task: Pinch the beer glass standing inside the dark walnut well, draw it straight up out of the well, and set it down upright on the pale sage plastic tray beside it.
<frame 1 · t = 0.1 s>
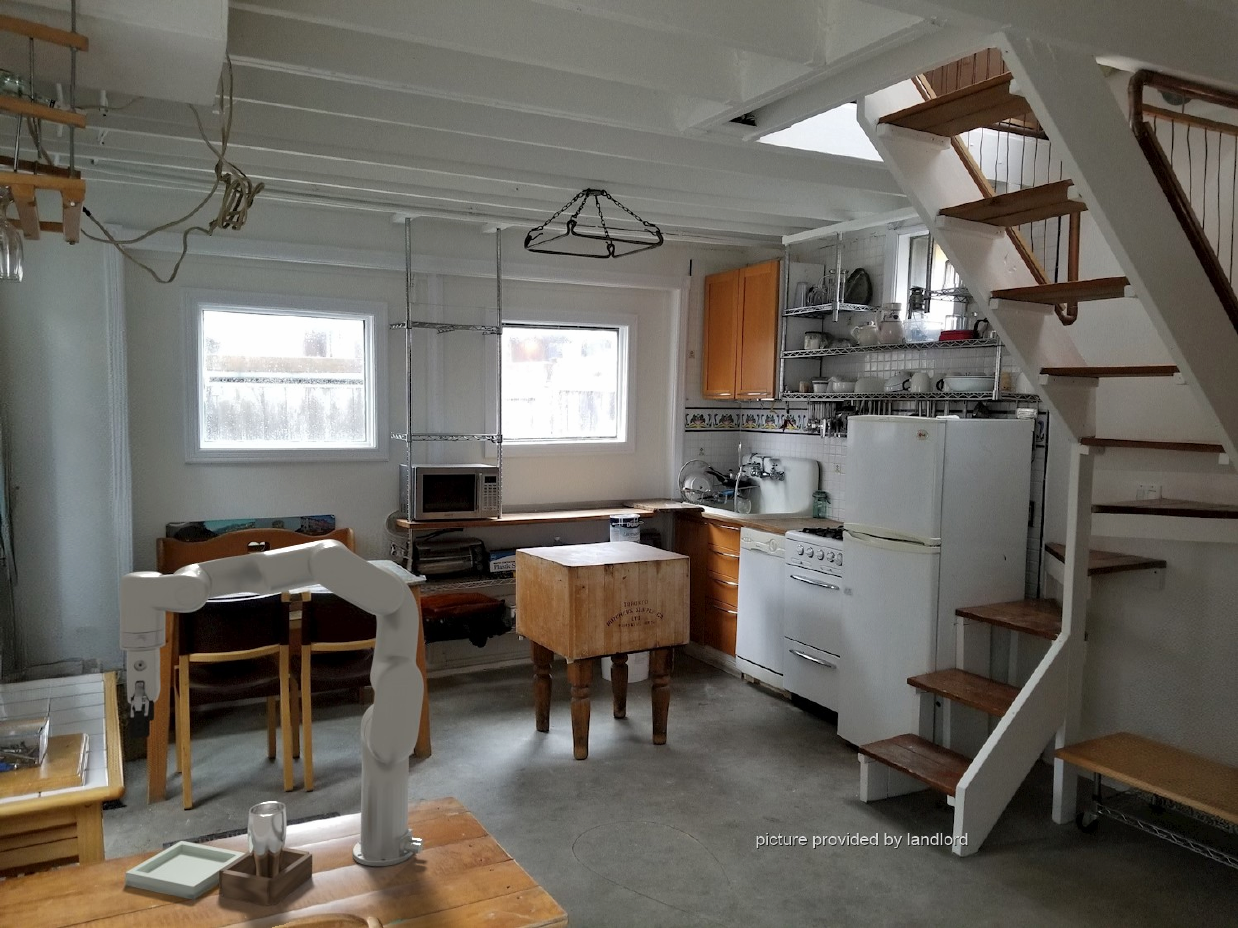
hand: (142, 728, 166), 31 cm above the table, tool pointing down, fingers open, 9 cm apart
beer glass: (266, 885, 171), resting in walnut well
sage tray: (187, 874, 174), on the table
walnut well: (266, 884, 171), on the table
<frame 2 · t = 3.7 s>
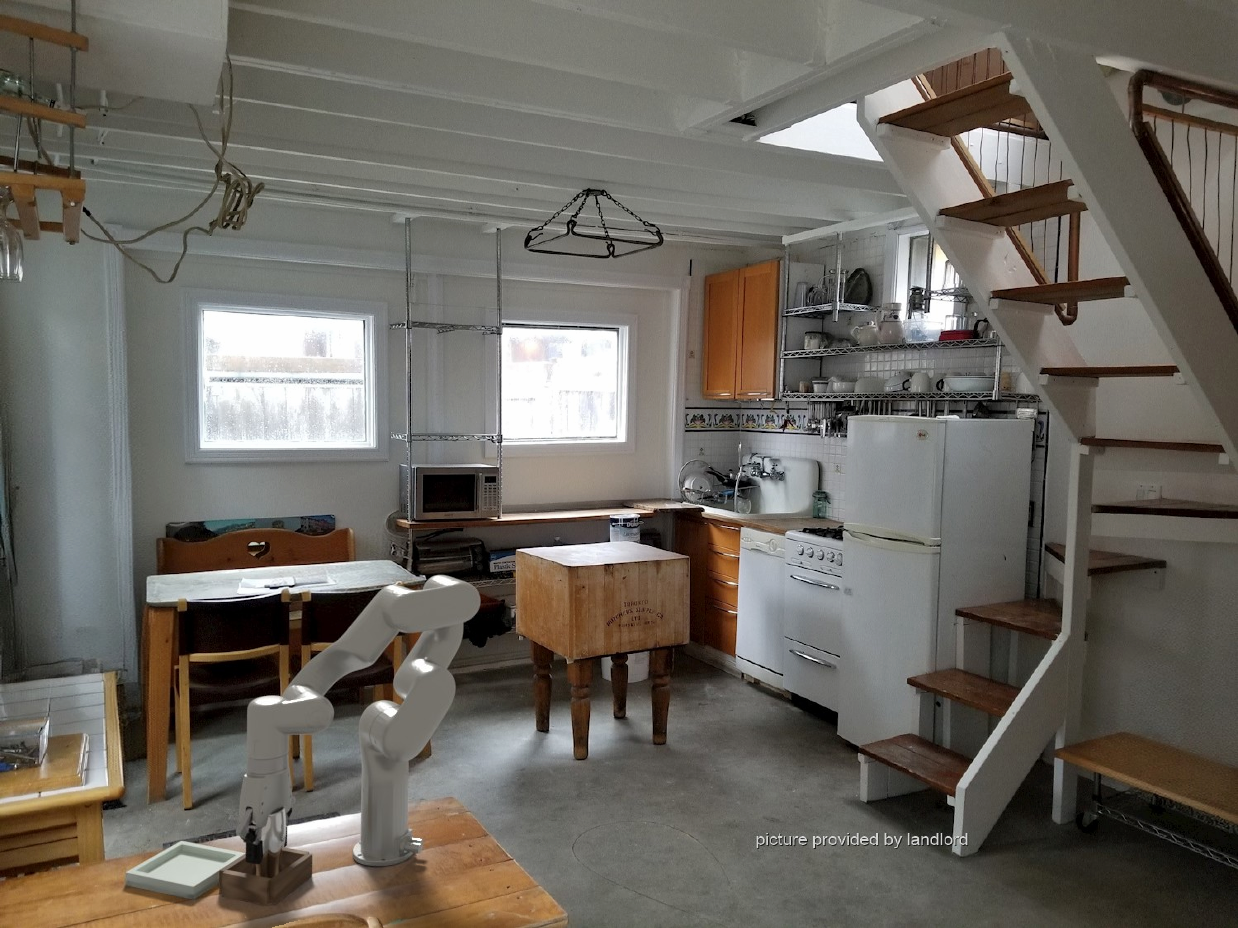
hand: (266, 853, 170), 6 cm above the table, tool pointing down, fingers closed on beer glass, 6 cm apart
beer glass: (266, 885, 171), resting in walnut well, touching gripper
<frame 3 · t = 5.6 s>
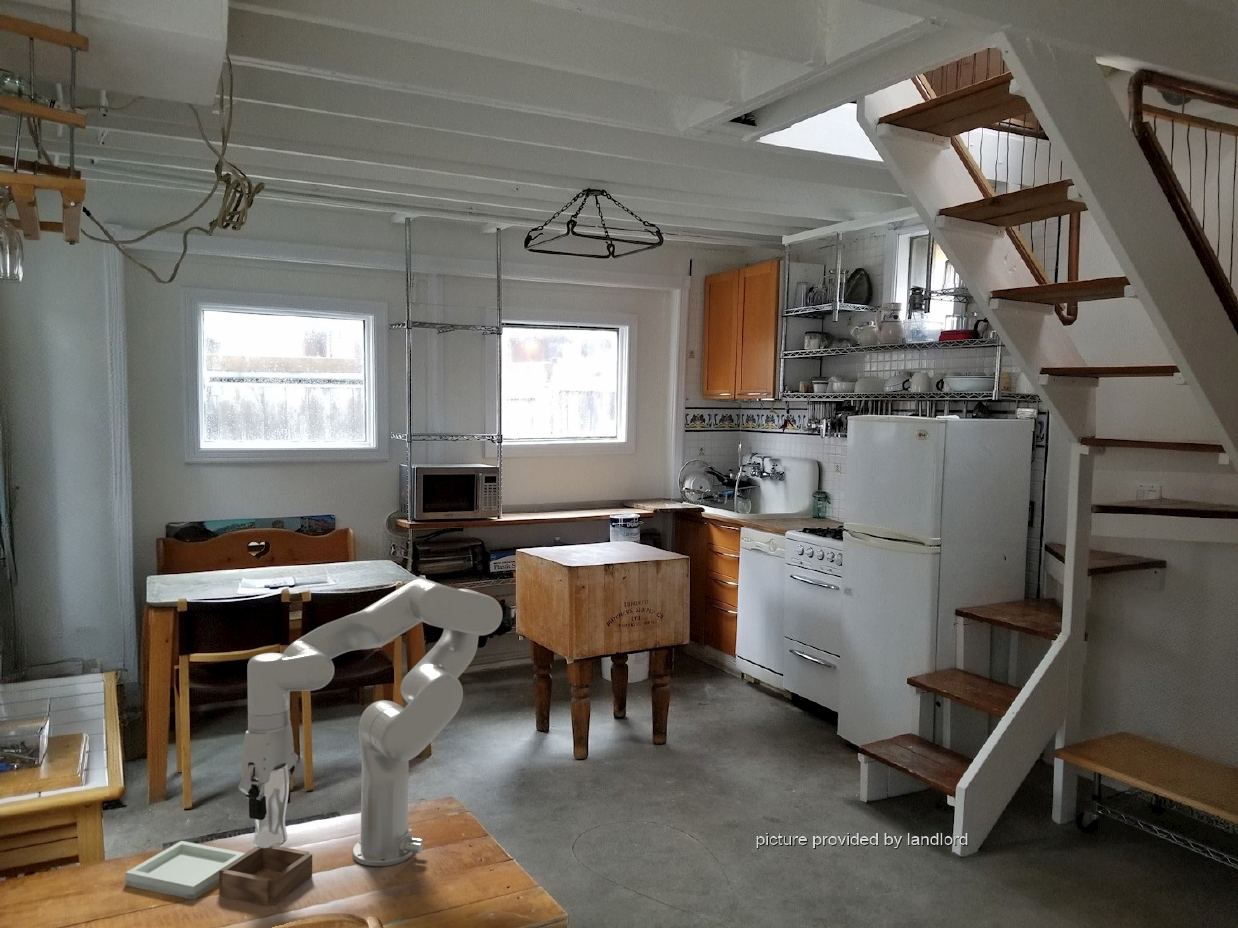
hand: (270, 809, 171), 15 cm above the table, tool pointing down, fingers closed on beer glass, 6 cm apart
beer glass: (270, 842, 171), point 8 cm above the table, touching gripper
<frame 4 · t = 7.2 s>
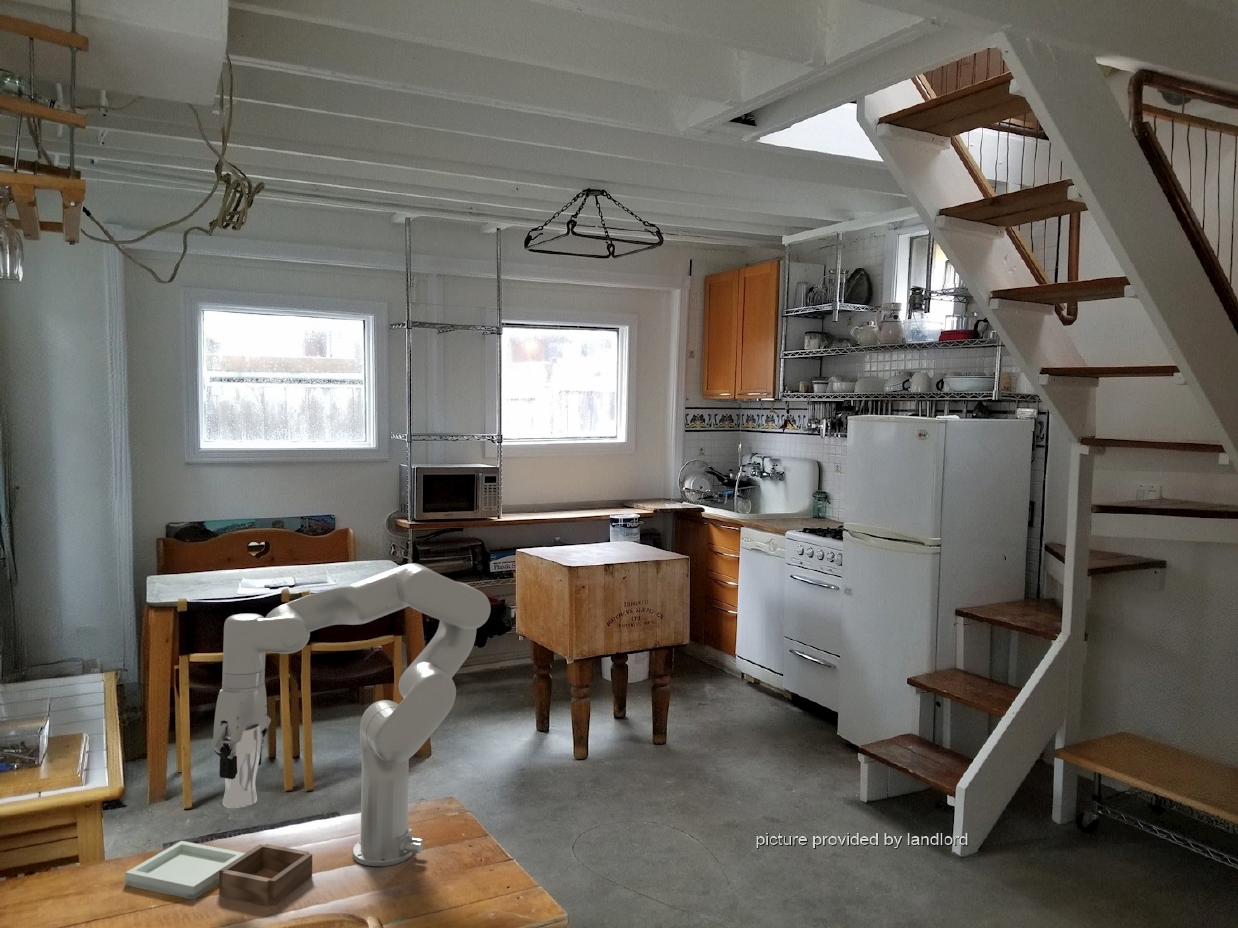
hand: (240, 770, 171), 22 cm above the table, tool pointing down, fingers closed on beer glass, 6 cm apart
beer glass: (239, 802, 171), point 16 cm above the table, touching gripper
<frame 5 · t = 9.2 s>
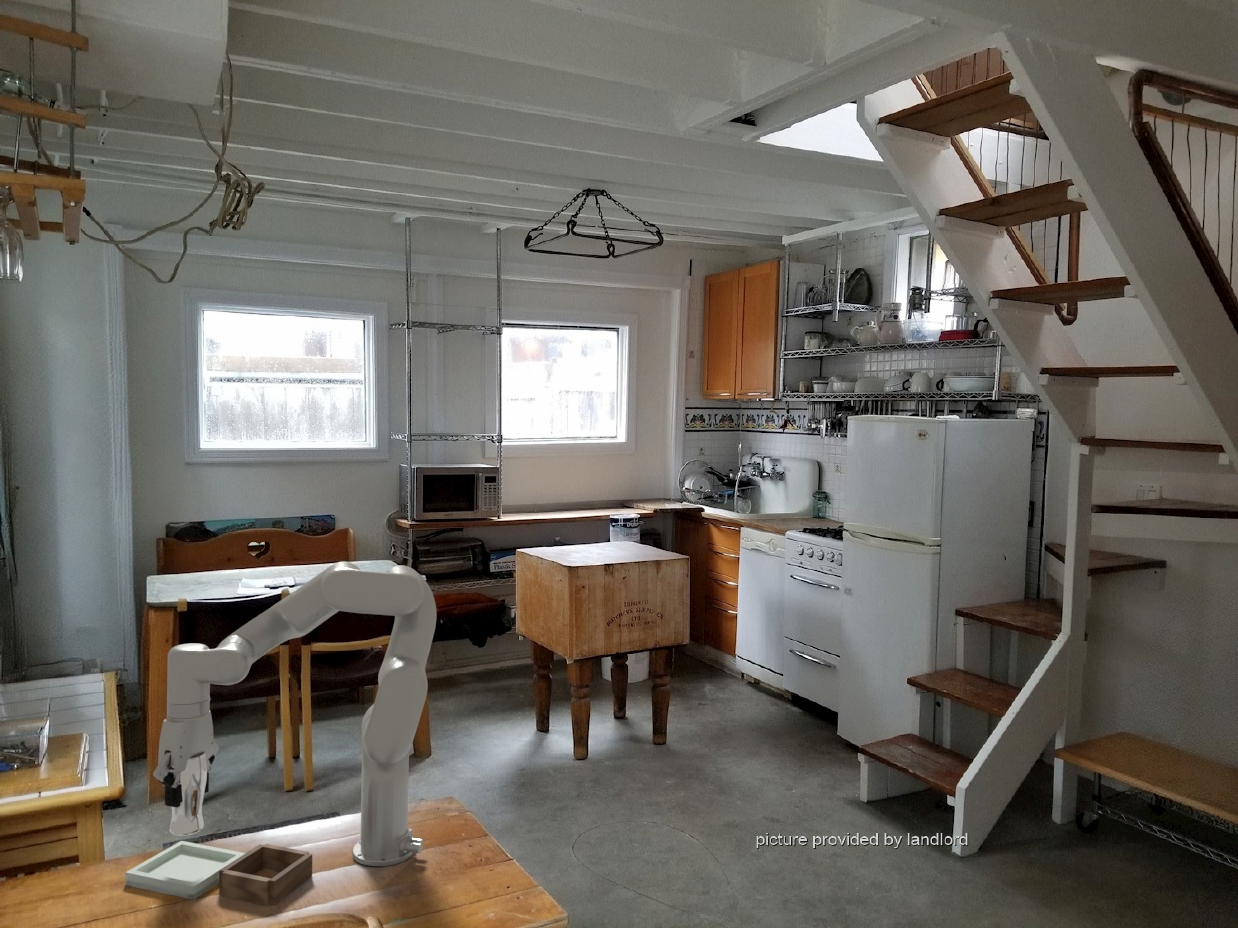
hand: (187, 797, 173), 15 cm above the table, tool pointing down, fingers closed on beer glass, 6 cm apart
beer glass: (186, 829, 173), point 9 cm above the table, touching gripper
when the fingers open (8 cm above the table, at t = 11.0 s): beer glass stays where it is, resting on sage tray.
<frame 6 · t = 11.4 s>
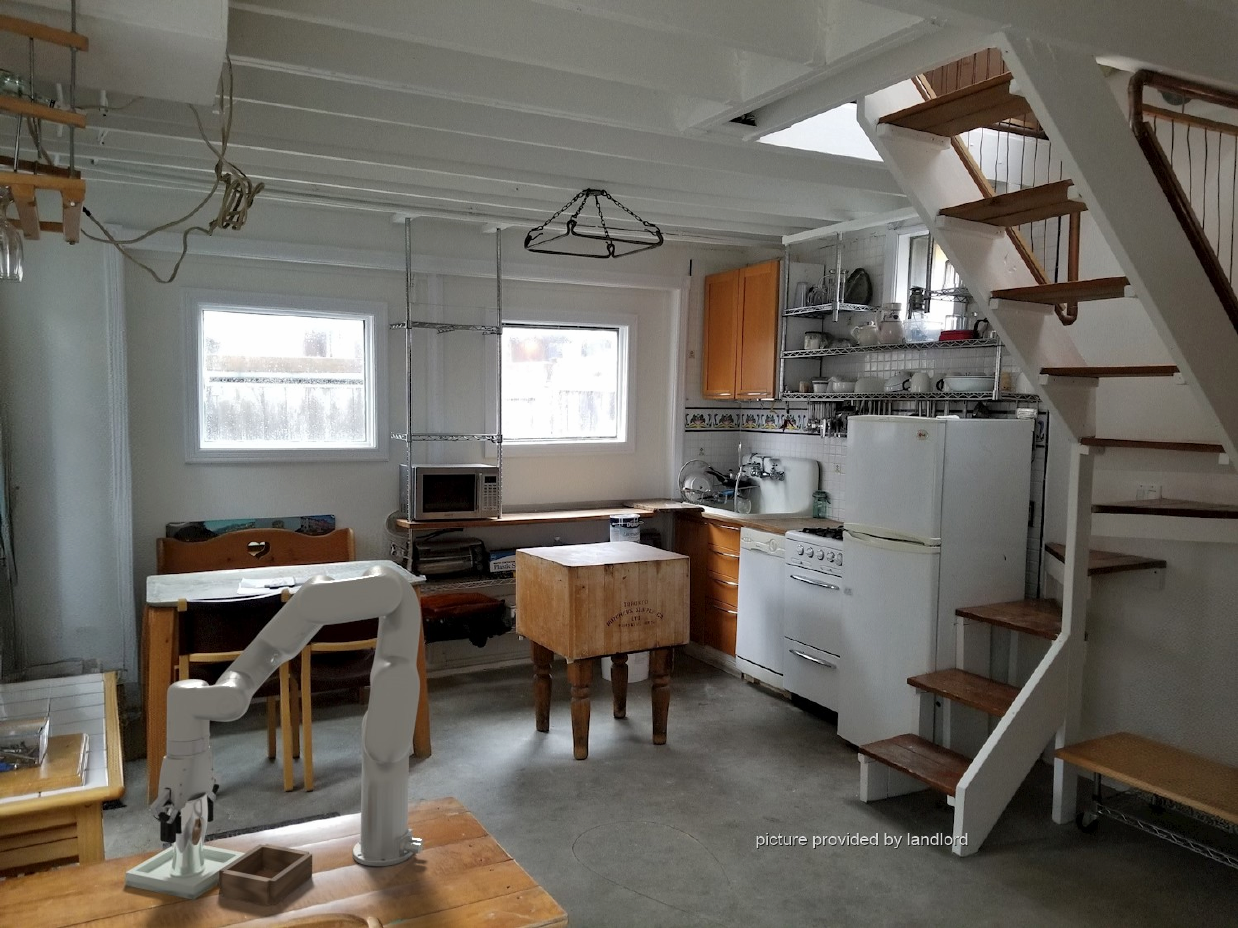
hand: (187, 830, 173), 9 cm above the table, tool pointing down, fingers open, 9 cm apart
beer glass: (187, 870, 174), point 1 cm above the table, touching sage tray
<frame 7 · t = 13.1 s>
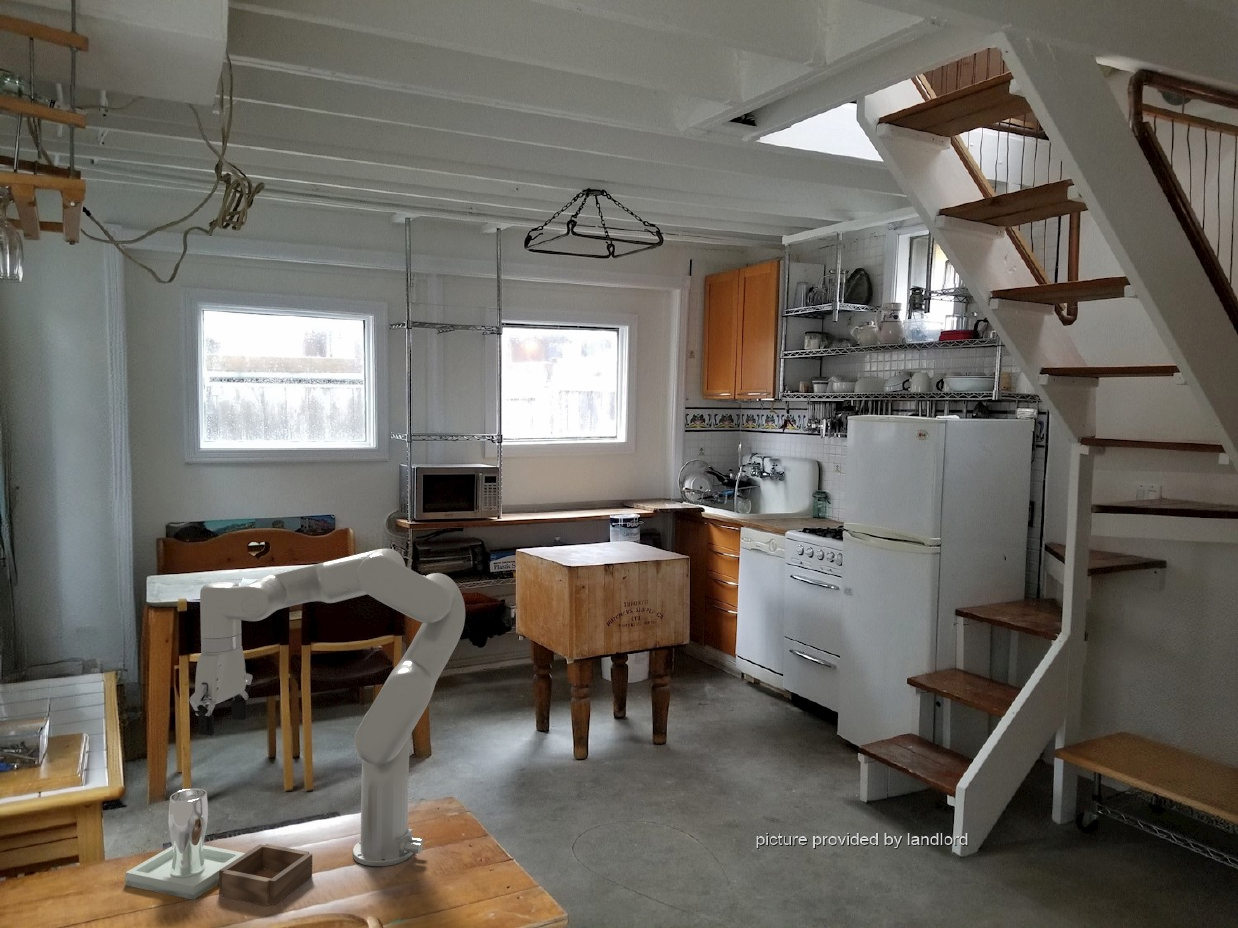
hand: (223, 726, 181), 27 cm above the table, tool pointing down, fingers open, 9 cm apart
nothing on the table moved.
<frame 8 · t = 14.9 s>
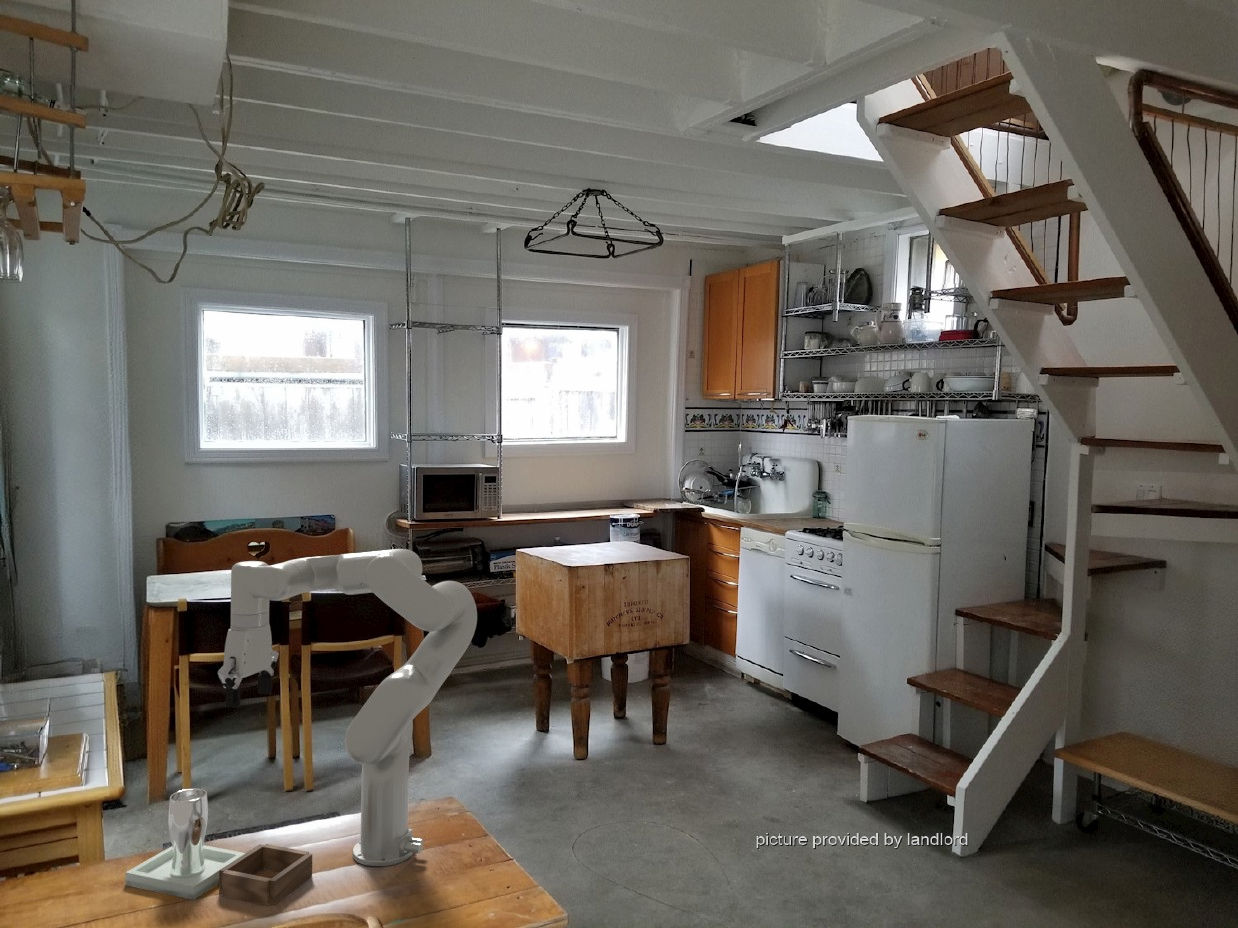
hand: (249, 700, 188), 30 cm above the table, tool pointing down, fingers open, 9 cm apart
nothing on the table moved.
at the end: beer glass inside the target area on the sage tray (0.2 cm from its centre), point 0.8 cm above the sage tray's base; beer glass tilted 0°; the gripper is holding nothing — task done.
